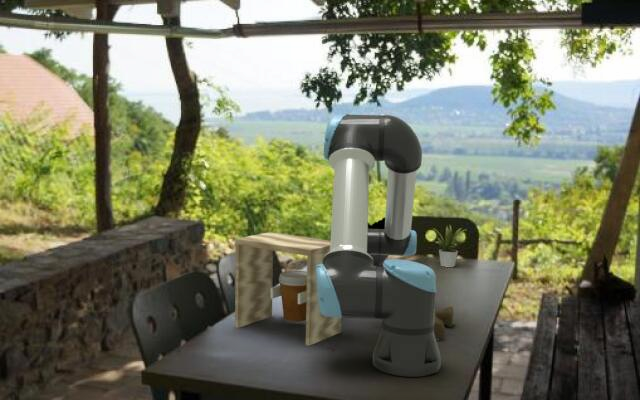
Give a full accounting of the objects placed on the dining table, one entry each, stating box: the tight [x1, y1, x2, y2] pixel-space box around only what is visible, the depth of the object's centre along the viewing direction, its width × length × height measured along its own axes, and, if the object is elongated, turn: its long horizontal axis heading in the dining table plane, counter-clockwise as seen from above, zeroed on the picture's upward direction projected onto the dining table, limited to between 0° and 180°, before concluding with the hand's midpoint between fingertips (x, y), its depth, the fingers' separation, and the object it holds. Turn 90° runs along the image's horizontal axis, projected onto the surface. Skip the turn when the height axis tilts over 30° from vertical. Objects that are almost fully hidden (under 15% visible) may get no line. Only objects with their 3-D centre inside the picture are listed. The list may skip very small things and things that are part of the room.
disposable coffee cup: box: [277, 269, 307, 323], centre depth 182 cm, size 10×10×12 cm
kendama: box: [434, 306, 454, 340], centre depth 183 cm, size 6×10×20 cm
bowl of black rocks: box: [368, 217, 390, 266], centre depth 259 cm, size 20×20×19 cm
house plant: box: [434, 224, 466, 267], centre depth 261 cm, size 14×14×16 cm
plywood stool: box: [234, 231, 342, 347], centre depth 178 cm, size 14×24×24 cm, turn 55°
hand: (285, 296), depth 178 cm, fingers closed on disposable coffee cup, 8 cm apart
